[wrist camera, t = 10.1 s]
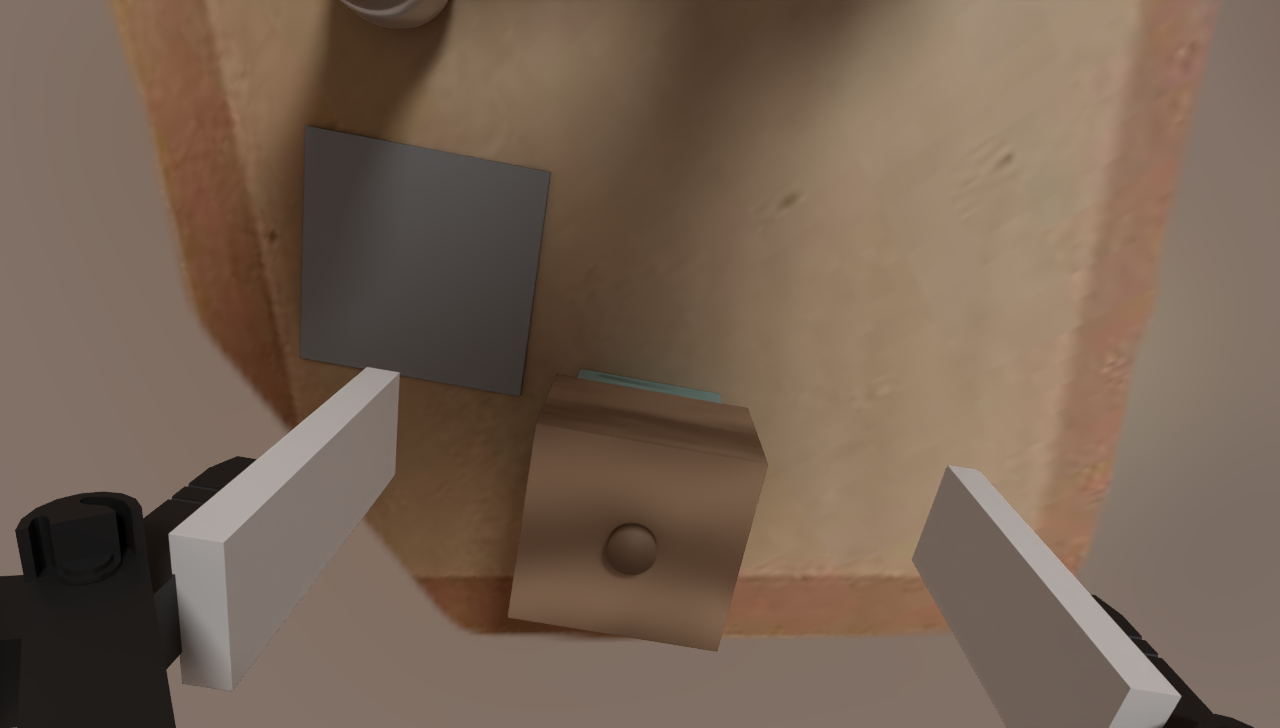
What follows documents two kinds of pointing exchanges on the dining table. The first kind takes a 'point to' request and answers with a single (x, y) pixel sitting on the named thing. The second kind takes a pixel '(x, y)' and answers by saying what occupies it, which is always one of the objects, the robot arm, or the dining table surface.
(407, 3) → the plastic bottle
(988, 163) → the dining table surface
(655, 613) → the lid
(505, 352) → the mat
